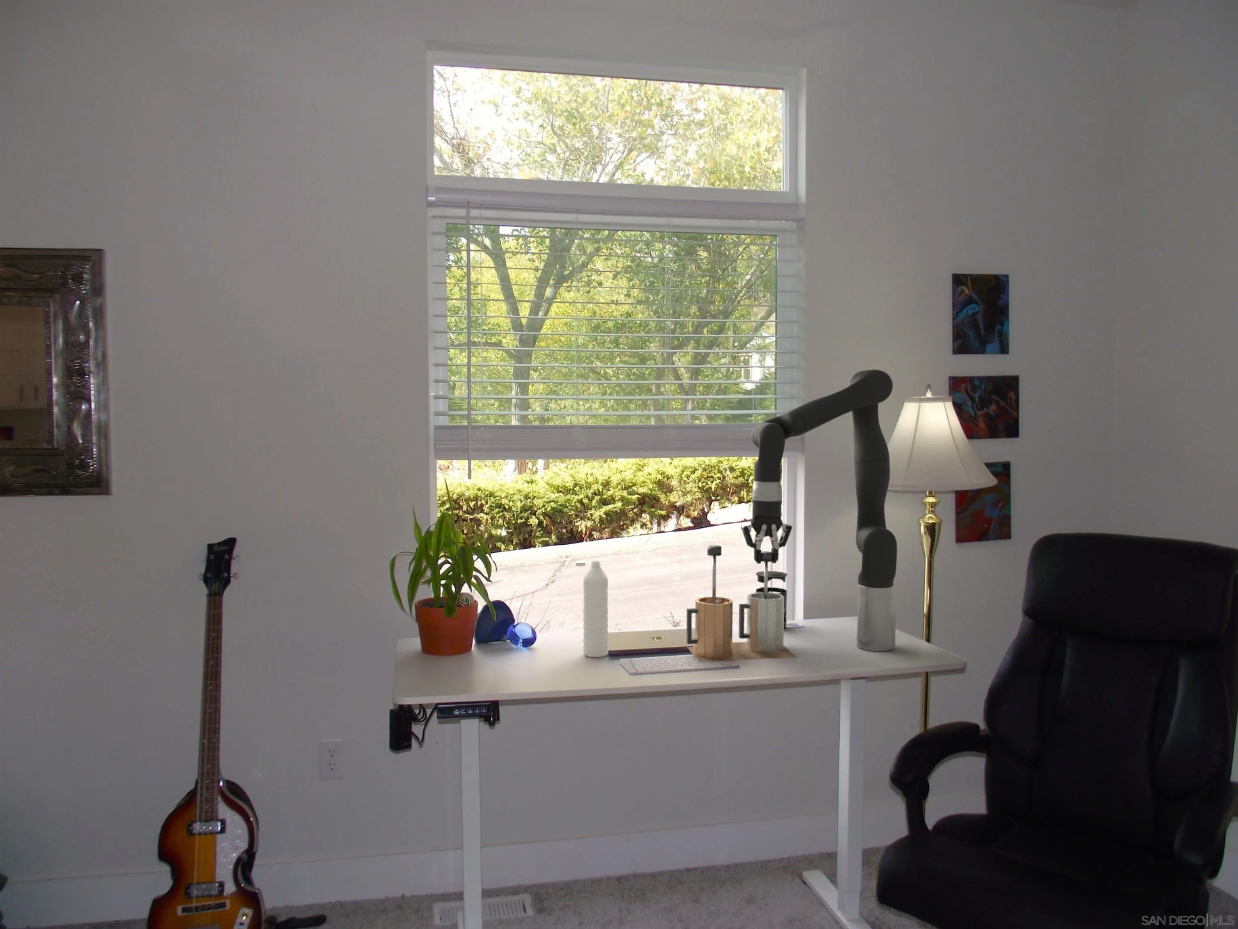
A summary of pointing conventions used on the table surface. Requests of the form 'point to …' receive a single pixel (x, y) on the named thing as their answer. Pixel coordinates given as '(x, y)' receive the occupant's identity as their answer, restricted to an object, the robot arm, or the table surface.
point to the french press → (772, 589)
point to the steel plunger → (766, 569)
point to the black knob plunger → (714, 568)
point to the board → (745, 653)
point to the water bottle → (595, 611)
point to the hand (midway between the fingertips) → (766, 562)
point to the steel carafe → (763, 622)
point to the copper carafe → (711, 627)
